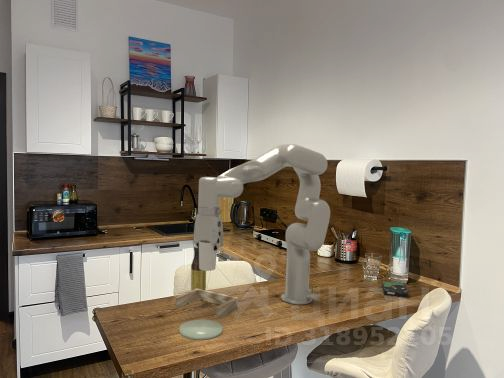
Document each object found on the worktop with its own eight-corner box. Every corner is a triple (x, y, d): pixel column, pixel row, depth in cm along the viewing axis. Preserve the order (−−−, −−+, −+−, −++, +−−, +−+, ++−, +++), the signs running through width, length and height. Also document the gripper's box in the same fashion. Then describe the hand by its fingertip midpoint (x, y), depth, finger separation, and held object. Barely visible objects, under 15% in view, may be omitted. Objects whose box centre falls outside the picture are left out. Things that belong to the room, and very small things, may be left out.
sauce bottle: (198, 289, 173) (200, 243, 172) (208, 292, 169) (210, 246, 168) (187, 292, 168) (188, 245, 167) (197, 296, 164) (198, 248, 163)
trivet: (230, 327, 135) (230, 325, 134) (206, 343, 122) (206, 341, 122) (196, 318, 141) (196, 316, 141) (170, 332, 129) (170, 330, 129)
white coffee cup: (212, 271, 140) (212, 243, 139) (194, 269, 142) (195, 241, 141) (219, 267, 146) (220, 240, 145) (202, 265, 148) (203, 238, 148)
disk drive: (408, 299, 173) (404, 288, 187) (409, 293, 173) (405, 282, 187) (383, 296, 175) (381, 286, 190) (384, 290, 175) (381, 280, 189)
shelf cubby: (237, 307, 153) (238, 297, 153) (218, 319, 142) (219, 308, 141) (196, 298, 162) (196, 288, 162) (175, 307, 151) (175, 297, 150)
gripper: (233, 212, 142) (231, 264, 143) (197, 208, 150) (195, 257, 151) (221, 214, 136) (219, 268, 137) (184, 210, 144) (182, 261, 145)
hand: (206, 262), depth 144 cm, fingers closed on white coffee cup, 2 cm apart
